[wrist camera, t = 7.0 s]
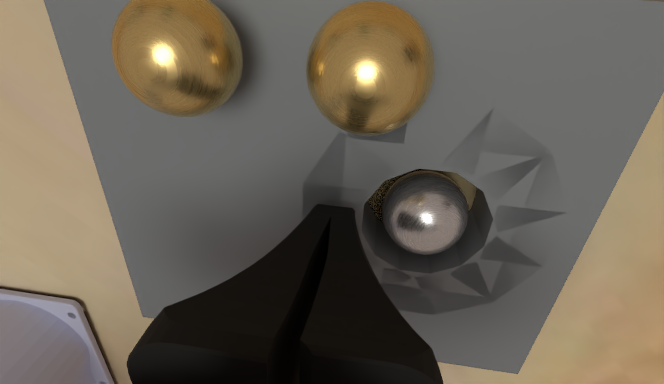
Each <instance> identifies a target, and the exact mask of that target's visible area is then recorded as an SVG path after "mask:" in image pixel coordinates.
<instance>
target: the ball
mask: <svg viewBox="0 0 664 384" xmlns="http://www.w3.org/2000/svg"><path fill="white" fill-rule="evenodd" d="M468 215H469V213H468V204H467V200H466V198H465V195H464V193H463V192H462V190H461V189H460V187H459V186H458V185H457V184H456V183H455V182H454V181H453V180H452V179H450V178H449V177H447V176H445V175H443V174H441V173H438V172H434V171H415V172H411V173H408V174H406V175H404V176H402V177H401V178H399V179H398V180H397V181H396V182H395V183H394V184H393V185H392V186H391V187H390V188H389V190H388V191H387V193H386V195H385V198H384V201H383V205H382V218H383V223H384V226H385V229H386V231H387V233H388V234H389V236H390V237H391V238H392V240H393V241H394V242H395V243H396V244H398V245H399V246H400V247H402V248H403V249H405V250H407V251H409V252H412V253H416V254H422V255H429V254H435V253H439V252H442V251H444V250H446V249H448V248H450V247H451V246H453V245H454V244H455V243H456V242H457V241H458V240H459V239H460V237H461V236H462V234H463V233H464V231H465V228H466V226H467V222H468Z"/></svg>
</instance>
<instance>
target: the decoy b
mask: <svg viewBox="0 0 664 384" xmlns="http://www.w3.org/2000/svg"><path fill="white" fill-rule="evenodd" d="M434 72H435V61H434V54H433V49H432V45H431V42H430V40H429V37H428V35H427V33H426V32H425V30H424V28H423V27H422V25H421V24H420V23H419V22H418V21H417V20H416V19H415V18H414V17H413V16H412V15H411V14H410V13H408V12H407V11H405V10H404V9H402V8H400V7H398V6H396V5H393V4H390V3H386V2H381V1H364V2H358V3H354V4H351V5H349V6H346V7H344V8H342V9H340V10H339V11H337V12H336V13H334V14H333V15H332V16H331V17H329V18H328V19H327V20H326V21H325V22H324V24H323V25H322V26H321V27H320V29H319V30H318V32H317V33H316V35H315V37H314V39H313V41H312V43H311V45H310V48H309V51H308V56H307V62H306V79H307V85H308V89H309V92H310V95H311V97H312V100H313V102H314V103H315V105H316V107H317V108H318V110H319V111H320V112H321V113H322V115H323V116H324V117H325V118H326V119H327V120H328V121H329V122H331V123H332V124H333V125H335V126H336V127H338V128H340V129H342V130H344V131H346V132H349V133H353V134H357V135H366V136H372V135H380V134H385V133H387V132H390V131H393V130H395V129H397V128H399V127H401V126H402V125H404V124H405V123H407V122H408V121H409V120H410V119H412V118H413V117H414V116H415V115H416V114H417V113H418V111H419V110H420V109H421V107H422V106H423V105H424V103H425V101H426V99H427V97H428V95H429V93H430V90H431V87H432V84H433V80H434Z"/></svg>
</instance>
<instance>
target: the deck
mask: <svg viewBox="0 0 664 384" xmlns="http://www.w3.org/2000/svg"><path fill="white" fill-rule="evenodd" d="M129 1H130V0H44V2H45V6H46V9H47V12H48V15H49V18H50V22H51V25H52V28H53V31H54V34H55V38H56V41H57V44H58V47H59V50H60V53H61V57H62V60H63V63H64V66H65V69H66V73H67V76H68V79H69V82H70V85H71V89H72V92H73V95H74V98H75V101H76V105H77V108H78V111H79V114H80V117H81V121H82V124H83V127H84V130H85V133H86V137H87V140H88V143H89V146H90V149H91V153H92V156H93V159H94V162H95V165H96V169H97V172H98V175H99V178H100V181H101V185H102V188H103V191H104V194H105V197H106V200H107V204H108V207H109V210H110V213H111V216H112V220H113V223H114V226H115V229H116V232H117V236H118V239H119V242H120V245H121V248H122V252H123V255H124V258H125V261H126V264H127V268H128V271H129V274H130V277H131V280H132V284H133V287H134V290H135V293H136V296H137V300H138V303H139V306H140V309H141V312H142V316H143V317H148V318H156V317H157V316H158V314H159V313H160V312H161V311H162V309H163V308H164V307H166V306H169V305H172V304H174V303H177V302H179V301H182V300H184V299H187V298H190V297H192V296H195V295H197V294H199V293H202V292H204V291H206V290H208V289H210V288H212V287H214V286H216V285H218V284H220V283H222V282H224V281H226V280H228V279H230V278H232V277H233V276H235V275H237V274H238V273H240V272H242V271H243V270H245V269H246V268H248V267H249V266H251V265H252V264H254V263H255V262H257V261H258V260H259V259H261V258H262V257H263V256H265V255H266V254H267V253H268V252H270V251H271V250H272V249H273V248H274V247H276V246H277V245H278V244H279V243H280V242H281V241H282V240H283V239H285V238H286V237H287V236H288V235H289V234H290V233H291V232H292V231H293V230H294V229H295V228H296V227H297V226H298V225H299V224H300V222H301V221H302V220H303V219H304V218H305V217H306V216H307V215H308V213H309V212H310V211H311V210H312V208H313V207H314V206H315V205H317V204H324V205H332V206H340V207H349V208H353V209H354V210H355V220H356V225H357V230H358V234H359V237H360V240H361V243H362V246H363V249H364V251H365V254H366V256H367V259H368V261H369V263H370V265H371V268H372V270H373V272H374V274H375V275H376V277H377V279H378V281H379V283H380V284H381V286H382V288H383V289H384V291H385V293H386V294H387V296H388V297H389V298H390V300H391V301H392V303H393V304H394V305H395V307H396V308H397V310H398V311H399V312H400V314H401V315H402V316H403V317H404V319H405V320H406V321H407V322H408V323H409V325H410V326H411V327H412V328H413V329H414V330H415V332H416V333H417V334H418V335H419V336H420V337H421V338H422V339H423V340H424V341H425V342H426V343H427V344H428V345H429V346H430V347H431V348H432V350H433V352H434V355H435V358H436V361H437V362H442V363H449V364H455V365H462V366H468V367H475V368H481V369H488V370H494V371H501V372H507V373H514V374H518V373H519V371H520V369H521V367H522V365H523V363H524V361H525V359H526V357H527V355H528V354H529V352H530V350H531V348H532V346H533V344H534V342H535V340H536V338H537V336H538V334H539V332H540V330H541V328H542V326H543V324H544V323H545V321H546V319H547V317H548V315H549V313H550V311H551V309H552V307H553V305H554V303H555V301H556V299H557V297H558V295H559V293H560V291H561V290H562V288H563V286H564V284H565V282H566V280H567V278H568V276H569V274H570V272H571V270H572V268H573V266H574V264H575V262H576V260H577V259H578V257H579V255H580V253H581V251H582V249H583V247H584V245H585V243H586V241H587V239H588V237H589V235H590V233H591V231H592V229H593V228H594V226H595V224H596V222H597V220H598V218H599V216H600V214H601V212H602V210H603V208H604V206H605V204H606V202H607V200H608V198H609V197H610V195H611V193H612V191H613V189H614V187H615V185H616V183H617V181H618V179H619V177H620V175H621V173H622V171H623V169H624V167H625V166H626V164H627V162H628V160H629V158H630V156H631V154H632V152H633V150H634V148H635V146H636V144H637V142H638V140H639V138H640V136H641V134H642V133H643V131H644V129H645V127H646V125H647V123H648V121H649V119H650V117H651V115H652V113H653V111H654V109H655V107H656V105H657V103H658V102H659V100H660V98H661V96H662V94H663V92H664V0H210V1H211V2H213V3H214V4H215V5H216V6H217V7H219V8H220V9H221V10H222V11H223V12H224V13H225V15H226V16H227V17H228V18H229V20H230V21H231V23H232V24H233V26H234V28H235V30H236V32H237V34H238V37H239V39H240V43H241V47H242V53H243V68H242V74H241V78H240V81H239V83H238V86H237V88H236V90H235V91H234V93H233V94H232V96H231V97H230V98H229V99H228V100H227V101H226V102H225V103H224V104H223V105H222V106H220V107H219V108H217V109H215V110H214V111H212V112H210V113H207V114H204V115H200V116H196V117H176V116H171V115H167V114H163V113H161V112H158V111H156V110H154V109H152V108H150V107H148V106H147V105H145V104H144V103H142V102H141V101H140V100H139V99H137V98H136V97H135V96H134V95H133V94H132V93H131V92H130V91H129V90H128V88H127V87H126V86H125V84H124V83H123V81H122V80H121V78H120V76H119V74H118V72H117V70H116V68H115V65H114V61H113V57H112V51H111V36H112V30H113V27H114V24H115V21H116V19H117V17H118V15H119V13H120V11H121V10H122V9H123V8H124V6H125V5H126V4H127V3H128V2H129ZM364 1H381V2H386V3H390V4H393V5H396V6H398V7H400V8H402V9H404V10H405V11H407V12H408V13H410V14H411V15H412V16H413V17H414V18H415V19H416V20H417V21H418V22H419V23H420V24H421V25H422V27H423V28H424V30H425V32H426V33H427V35H428V37H429V40H430V42H431V45H432V49H433V54H434V61H435V72H434V80H433V84H432V87H431V90H430V93H429V95H428V97H427V99H426V101H425V103H424V105H423V106H422V107H421V109H420V110H419V111H418V113H417V114H416V115H415V116H414V117H413V118H412V119H410V120H409V121H408V122H407V123H405V124H404V125H402V126H401V127H399V128H397V129H395V130H393V131H390V132H387V133H385V134H380V135H372V136H366V135H357V134H353V133H349V132H346V131H344V130H342V129H340V128H338V127H336V126H335V125H333V124H332V123H331V122H329V121H328V120H327V119H326V118H325V117H324V116H323V115H322V113H321V112H320V111H319V110H318V108H317V107H316V105H315V103H314V102H313V100H312V97H311V95H310V92H309V89H308V85H307V79H306V62H307V56H308V51H309V48H310V45H311V43H312V41H313V39H314V37H315V35H316V33H317V32H318V30H319V29H320V27H321V26H322V25H323V24H324V22H325V21H326V20H327V19H328V18H329V17H331V16H332V15H333V14H334V13H336V12H337V11H339V10H340V9H342V8H344V7H346V6H349V5H351V4H354V3H358V2H364ZM416 169H428V170H437V171H446V172H456V173H457V174H458V175H460V176H461V177H463V178H464V179H466V180H467V181H469V182H470V183H471V184H473V185H474V186H476V187H477V188H478V189H477V192H476V196H475V199H474V203H473V206H472V209H471V210H470V211H469V212H468V213H469V215H468V222H467V226H466V228H465V231H464V233H463V234H462V236H461V237H460V239H459V240H458V241H457V242H456V243H455V244H454V245H453V246H451V247H450V248H448V249H446V250H444V251H442V252H439V253H435V254H429V255H422V254H416V253H412V252H409V251H407V250H405V249H403V248H402V247H400V246H399V245H398V244H396V243H395V242H394V241H393V240H392V238H391V237H390V236H389V234H388V233H387V231H386V229H385V226H384V223H383V222H382V221H380V220H379V219H377V218H376V216H375V214H374V212H373V211H372V209H371V207H370V205H369V203H368V199H369V198H370V197H371V196H372V195H373V194H374V192H375V191H376V190H377V189H378V188H379V187H380V186H381V184H382V183H383V182H384V181H386V180H388V179H391V178H394V177H397V176H399V175H402V174H405V173H408V172H410V171H413V170H416Z"/></svg>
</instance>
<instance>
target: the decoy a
mask: <svg viewBox="0 0 664 384" xmlns="http://www.w3.org/2000/svg"><path fill="white" fill-rule="evenodd" d="M111 51H112V57H113V61H114V65H115V68H116V70H117V72H118V74H119V76H120V78H121V80H122V81H123V83H124V84H125V86H126V87H127V88H128V90H129V91H130V92H131V93H132V94H133V95H134V96H135V97H136V98H137V99H139V100H140V101H141V102H142V103H144V104H145V105H147V106H148V107H150V108H152V109H154V110H156V111H158V112H161V113H163V114H167V115H171V116H176V117H196V116H200V115H204V114H207V113H210V112H212V111H214V110H215V109H217V108H219V107H220V106H222V105H223V104H224V103H225V102H226V101H227V100H228V99H229V98H230V97H231V96H232V94H233V93H234V91H235V90H236V88H237V86H238V83H239V81H240V78H241V74H242V68H243V53H242V47H241V43H240V39H239V37H238V34H237V32H236V30H235V28H234V26H233V24H232V23H231V21H230V20H229V18H228V17H227V16H226V15H225V13H224V12H223V11H222V10H221V9H220V8H219V7H217V6H216V5H215V4H214V3H213V2H211V1H210V0H130V1H129V2H128V3H127V4H126V5H125V6H124V8H123V9H122V10H121V11H120V13H119V15H118V17H117V19H116V21H115V24H114V27H113V30H112V36H111Z"/></svg>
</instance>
